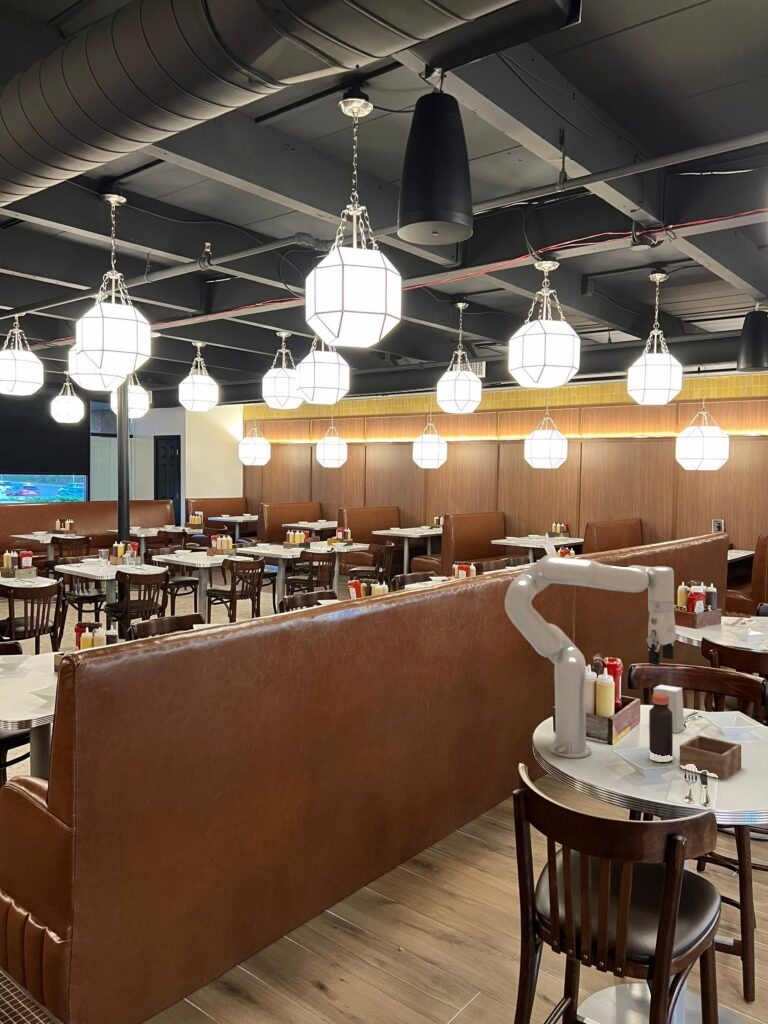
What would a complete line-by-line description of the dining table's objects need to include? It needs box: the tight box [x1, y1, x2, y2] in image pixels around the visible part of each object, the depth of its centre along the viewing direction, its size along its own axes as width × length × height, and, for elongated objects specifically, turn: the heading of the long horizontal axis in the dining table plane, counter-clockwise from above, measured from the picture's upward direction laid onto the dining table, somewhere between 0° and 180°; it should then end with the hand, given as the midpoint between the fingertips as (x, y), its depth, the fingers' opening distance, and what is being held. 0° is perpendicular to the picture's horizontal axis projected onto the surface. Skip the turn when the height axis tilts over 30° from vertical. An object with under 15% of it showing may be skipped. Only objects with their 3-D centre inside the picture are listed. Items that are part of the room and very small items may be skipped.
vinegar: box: [648, 693, 674, 757], centre depth 232 cm, size 7×7×20 cm
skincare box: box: [653, 684, 685, 734], centre depth 260 cm, size 8×6×15 cm
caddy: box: [679, 734, 742, 781], centre depth 224 cm, size 13×13×7 cm
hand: (661, 661), depth 232 cm, fingers open, 9 cm apart
